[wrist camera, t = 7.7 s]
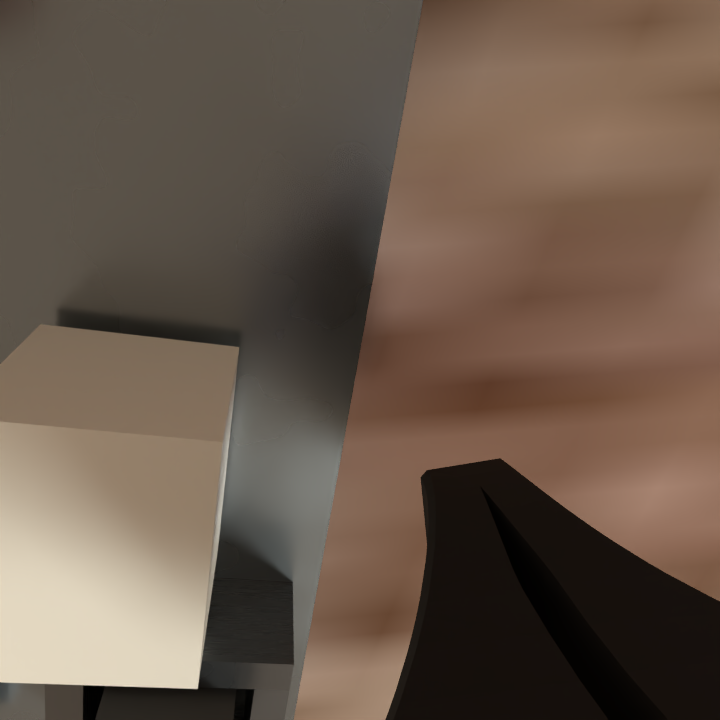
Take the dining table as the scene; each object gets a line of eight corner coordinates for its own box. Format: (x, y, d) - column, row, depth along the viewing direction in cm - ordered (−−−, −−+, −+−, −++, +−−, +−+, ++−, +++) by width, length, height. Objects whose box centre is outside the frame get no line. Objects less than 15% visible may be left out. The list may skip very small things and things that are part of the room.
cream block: (238, 346, 10) (222, 441, 8) (217, 548, 12) (197, 688, 9) (40, 323, 10) (-53, 417, 7) (43, 537, 12) (-33, 681, 9)
